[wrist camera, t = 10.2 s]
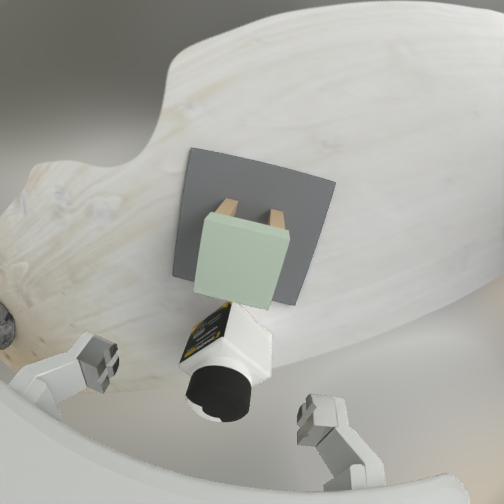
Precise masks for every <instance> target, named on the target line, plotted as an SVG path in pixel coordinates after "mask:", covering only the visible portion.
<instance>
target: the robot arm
mask: <svg viewBox="0 0 504 504" xmlns="http://www.w3.org/2000/svg"><path fill="white" fill-rule="evenodd" d="M117 350H118V348H117V344H115V343H113V342H111V341H109V340H106V339H104V338H102V337H100V336H98V335H95V334H93V333H91V332H89V331H85V332H83V333H82V335H81V336H80V337H79V338H78V339H77V341H76V342H75V343H74V344H73V346H72V347H71V348H70V349H69V351H68V352H67V353H64V352H63V353H61V354H58V355H55V356H52V357H49V358H47V359H44V360H41V361H38V362H35V363H32V364H29V365H26V366H24V367H22V368H21V369H20V371H19V372H18V373H17V374H16V376H15V377H14V378H13V379H12V381H11V382H10V383H9V384H8V385H7V384H5V383H4V382H3V381H1V379H0V504H471V503H470V497H469V494H468V491H467V488H466V487H465V486H464V485H463V484H462V483H461V482H460V481H459V480H458V479H457V478H456V477H454V476H453V475H452V474H450V473H444V474H440V475H436V476H432V477H428V478H425V479H420V480H416V481H411V482H406V483H401V484H396V485H390V486H387V485H386V479H385V473H384V467H383V462H382V461H381V460H380V459H379V458H378V456H377V455H376V454H375V453H374V452H373V451H372V450H371V449H370V447H369V446H368V445H367V444H366V443H365V442H364V441H363V440H362V438H361V437H360V436H359V435H358V434H357V433H356V432H355V431H354V429H353V428H349V422H348V416H347V409H346V404H345V399H344V398H343V397H334V396H327V395H317V394H309V395H308V396H307V398H306V403H304V404H302V405H301V407H300V409H299V411H298V415H297V424H298V425H299V427H300V429H299V430H298V432H297V445H305V446H315V447H316V449H317V451H318V452H319V454H320V455H321V457H322V459H323V460H324V462H325V463H326V465H327V467H328V468H329V470H330V471H331V473H332V474H333V476H334V478H333V479H331V480H330V481H328V482H327V483H326V484H324V491H318V492H315V491H314V492H313V491H312V492H310V491H283V490H270V489H260V488H252V487H244V486H237V485H231V484H226V483H221V482H215V481H211V480H206V479H202V478H197V477H194V476H190V475H186V474H182V473H178V472H175V471H172V470H168V469H165V468H162V467H159V466H156V465H153V464H150V463H147V462H144V461H142V460H139V459H136V458H134V457H131V456H129V455H126V454H124V453H121V452H119V451H117V450H114V449H112V448H110V447H108V446H105V445H103V444H101V443H99V442H97V441H95V440H93V439H91V438H89V437H87V436H85V435H83V434H81V433H79V432H77V431H76V430H74V429H72V428H70V427H68V426H66V425H65V424H63V423H62V422H60V421H59V420H60V419H61V417H62V413H61V411H60V410H59V408H58V406H57V404H58V403H60V402H62V401H64V400H65V399H67V398H69V397H71V396H73V395H74V394H76V393H78V392H80V391H82V390H84V389H85V388H87V387H89V388H92V389H94V390H96V391H98V392H101V393H103V394H104V392H105V390H106V389H107V387H108V385H109V384H110V381H109V378H110V377H112V376H114V375H115V373H116V372H117V369H118V366H119V356H118V355H117V354H116V351H117Z"/></svg>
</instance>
